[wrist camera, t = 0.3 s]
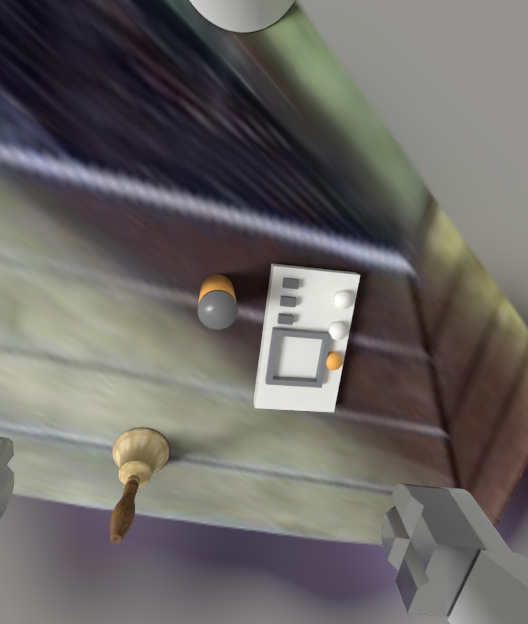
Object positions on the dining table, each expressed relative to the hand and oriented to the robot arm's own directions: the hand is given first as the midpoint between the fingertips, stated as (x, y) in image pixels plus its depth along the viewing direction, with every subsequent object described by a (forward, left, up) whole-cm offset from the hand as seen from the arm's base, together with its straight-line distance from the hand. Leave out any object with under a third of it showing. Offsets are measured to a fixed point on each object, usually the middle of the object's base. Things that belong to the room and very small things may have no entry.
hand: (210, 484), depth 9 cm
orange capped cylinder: (+7, +1, -47) cm, 47 cm away
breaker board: (+13, +14, -47) cm, 51 cm away
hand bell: (+33, -8, -47) cm, 58 cm away
